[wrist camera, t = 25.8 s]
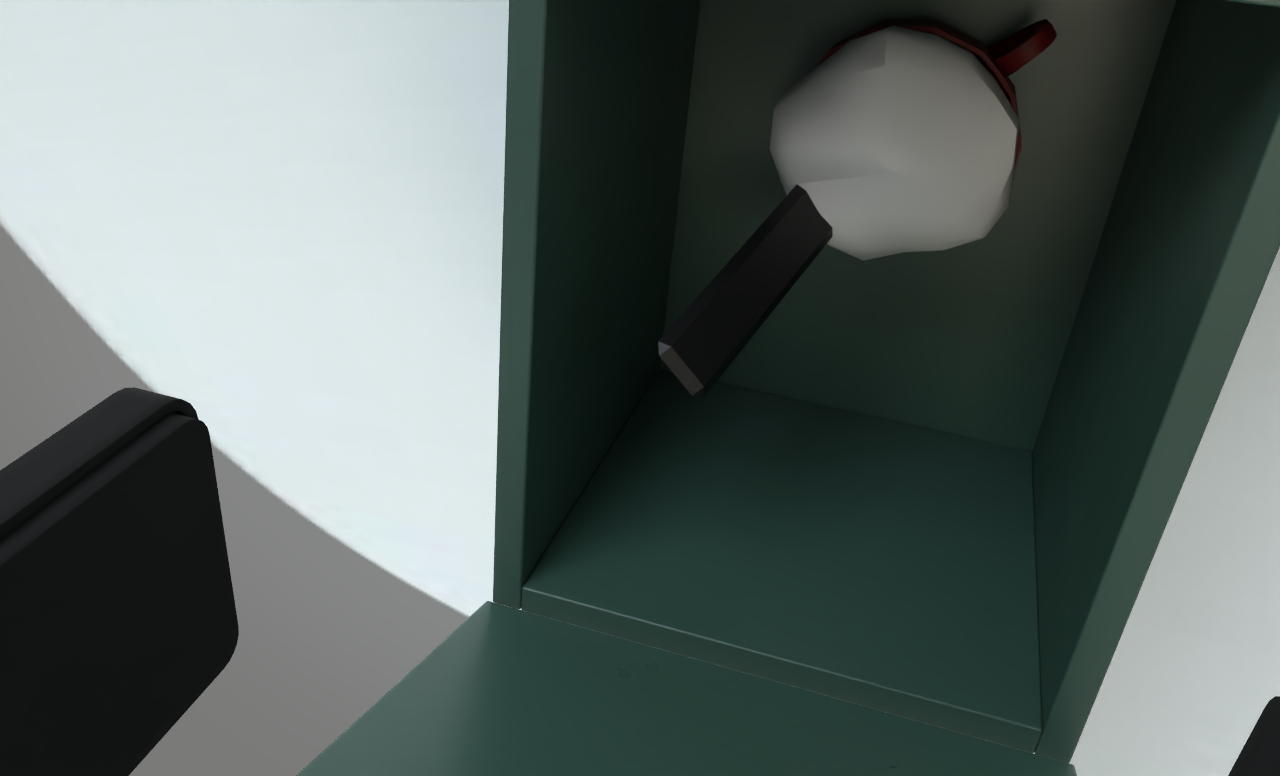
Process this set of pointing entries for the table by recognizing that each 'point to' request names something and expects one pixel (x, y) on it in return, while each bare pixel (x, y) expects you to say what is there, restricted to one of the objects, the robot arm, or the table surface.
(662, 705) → the bin lid
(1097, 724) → the table surface
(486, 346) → the table surface
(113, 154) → the table surface
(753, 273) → the cocoa
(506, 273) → the trash bin
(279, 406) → the table surface
